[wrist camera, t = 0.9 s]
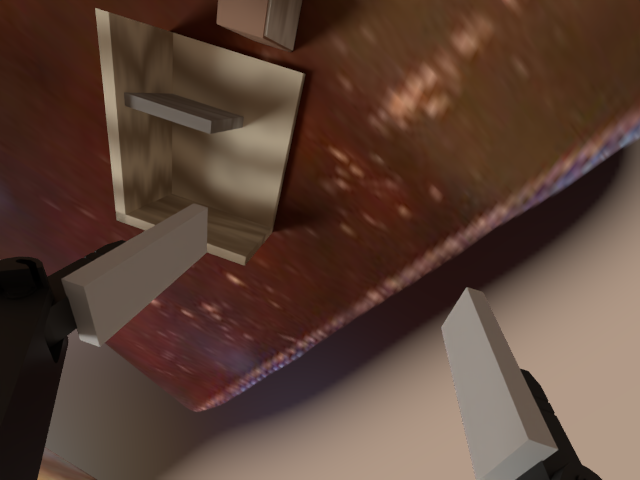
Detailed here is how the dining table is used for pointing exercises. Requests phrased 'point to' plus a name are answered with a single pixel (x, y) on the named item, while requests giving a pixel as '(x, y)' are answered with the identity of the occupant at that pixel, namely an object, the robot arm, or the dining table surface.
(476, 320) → the robot arm
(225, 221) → the shelf
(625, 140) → the dining table surface
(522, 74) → the dining table surface
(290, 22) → the tall mauve wooden block
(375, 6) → the dining table surface
